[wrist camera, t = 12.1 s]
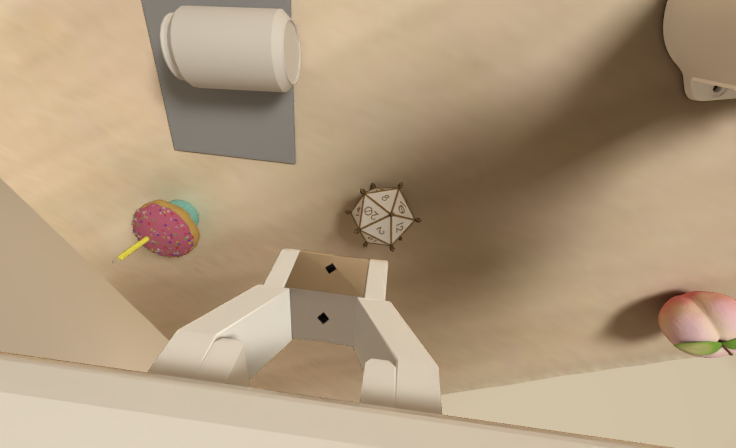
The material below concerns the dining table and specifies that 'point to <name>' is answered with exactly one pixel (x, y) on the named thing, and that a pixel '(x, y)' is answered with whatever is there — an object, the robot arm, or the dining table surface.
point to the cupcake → (165, 228)
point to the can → (232, 47)
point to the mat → (223, 101)
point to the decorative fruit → (700, 323)
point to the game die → (382, 216)
